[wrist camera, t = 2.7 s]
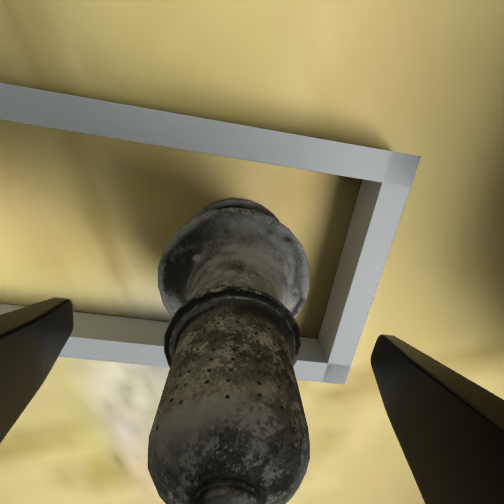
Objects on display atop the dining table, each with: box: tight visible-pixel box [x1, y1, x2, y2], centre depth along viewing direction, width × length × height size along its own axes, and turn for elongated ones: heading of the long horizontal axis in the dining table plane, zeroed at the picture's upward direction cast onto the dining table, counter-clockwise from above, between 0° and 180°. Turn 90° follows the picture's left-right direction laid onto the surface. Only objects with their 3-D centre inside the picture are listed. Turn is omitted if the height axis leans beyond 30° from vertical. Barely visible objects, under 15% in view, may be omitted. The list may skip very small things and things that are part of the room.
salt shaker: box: [148, 199, 310, 504], centre depth 9 cm, size 6×6×12 cm
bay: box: [0, 83, 421, 384], centre depth 13 cm, size 20×11×3 cm, turn 81°
